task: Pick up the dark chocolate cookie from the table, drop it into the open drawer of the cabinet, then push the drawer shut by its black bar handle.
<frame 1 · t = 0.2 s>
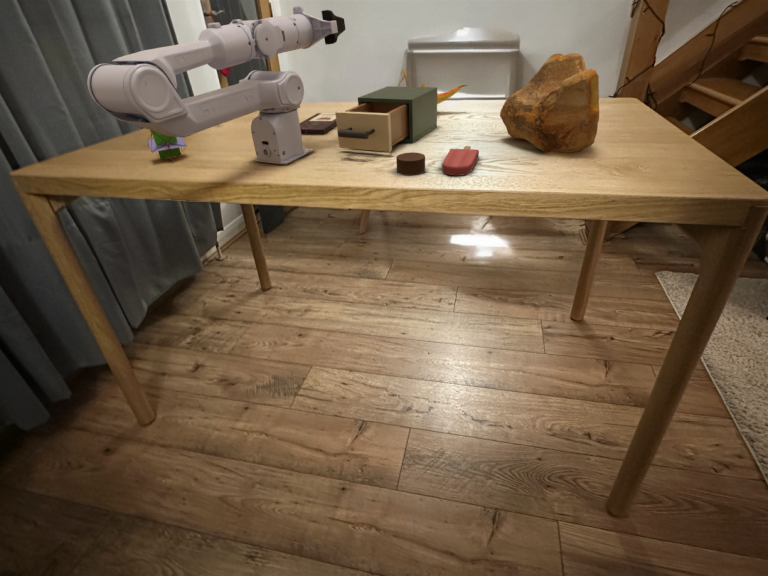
hand: (328, 26, 89), 22 cm above the table, tool horizontal, fingers open, 7 cm apart
rough brown rock: (540, 142, 87), on the table
magic lamp: (432, 114, 114), on the table
cabinet: (399, 132, 98), on the table
geometric puzzle: (172, 159, 90), on the table
drawer: (373, 126, 87), point 4 cm above the table, slide at 9.0 cm
cookie: (410, 170, 76), on the table
chocolate bar: (320, 125, 109), on the table
popsicle: (461, 163, 78), on the table
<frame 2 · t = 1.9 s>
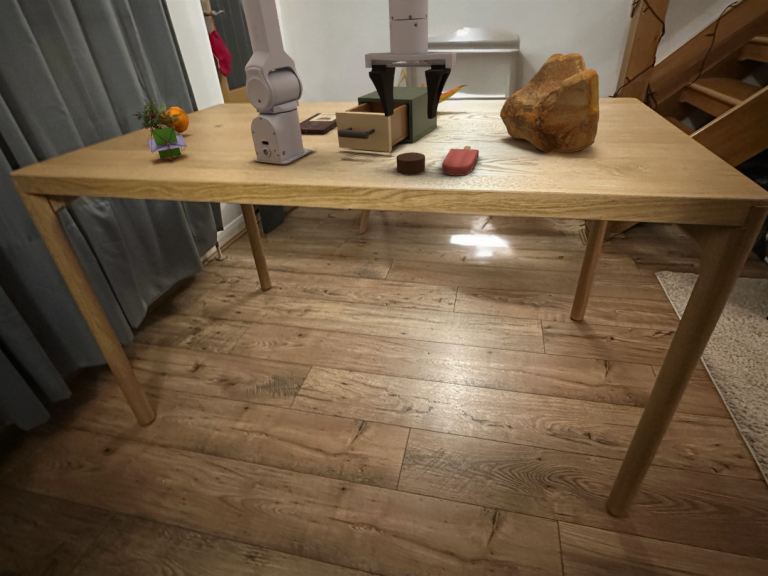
hand: (410, 116, 71), 9 cm above the table, tool pointing down, fingers open, 7 cm apart
nothing on the table moved.
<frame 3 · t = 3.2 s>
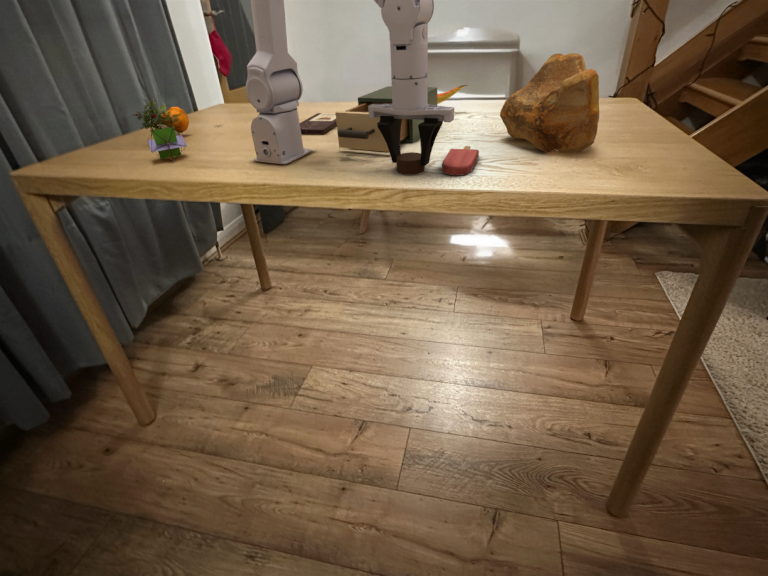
hand: (410, 162, 75), 1 cm above the table, tool pointing down, fingers closed on cookie, 5 cm apart
cookie: (410, 170, 76), on the table, touching gripper
everything else where it was.
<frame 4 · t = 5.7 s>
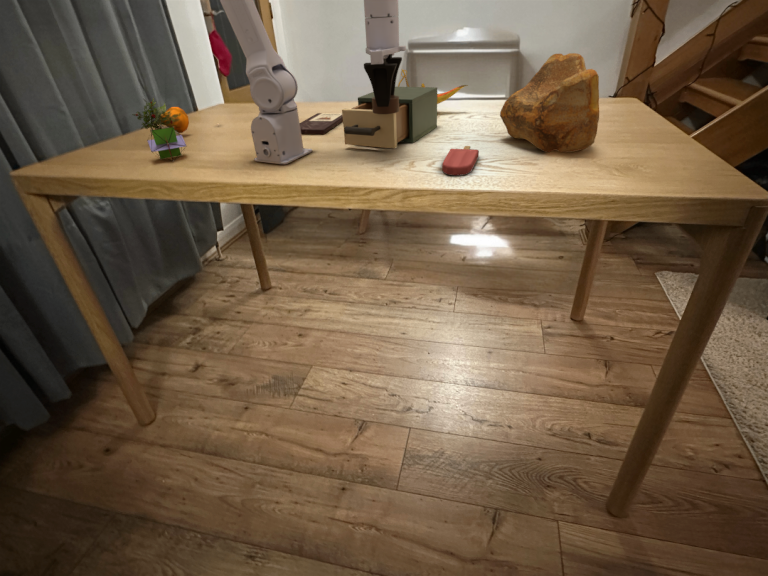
hand: (385, 103, 80), 9 cm above the table, tool pointing down, fingers closed on cookie, 5 cm apart
drawer: (378, 123, 88), point 4 cm above the table, slide at 6.5 cm
cookie: (386, 111, 81), point 8 cm above the table, touching gripper
everything else where it was.
when the fingers open (9 cm above the table, at t = 7.1 s): cookie drops 3 cm and tips over, resting on drawer.
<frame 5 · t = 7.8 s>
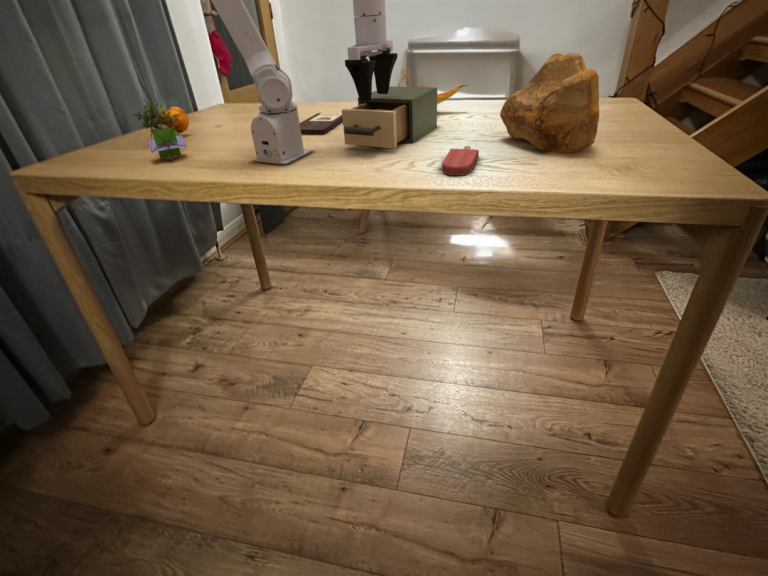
hand: (374, 97, 85), 10 cm above the table, tool pointing down, fingers open, 7 cm apart
drawer: (378, 123, 88), point 4 cm above the table, slide at 6.6 cm, touching cookie
cookie: (376, 123, 88), point 5 cm above the table, tilted 90°, touching drawer
everything else where it was.
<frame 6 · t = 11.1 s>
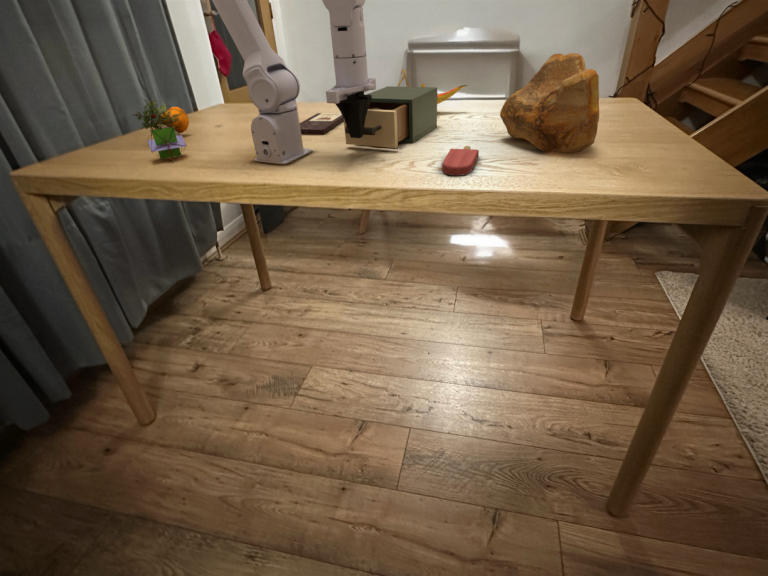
hand: (356, 137, 82), 4 cm above the table, tool pointing down, fingers closed
drawer: (379, 123, 89), point 4 cm above the table, slide at 6.2 cm, touching cookie, gripper
cookie: (371, 123, 88), point 4 cm above the table, tilted 90°, touching drawer
everything else where it was.
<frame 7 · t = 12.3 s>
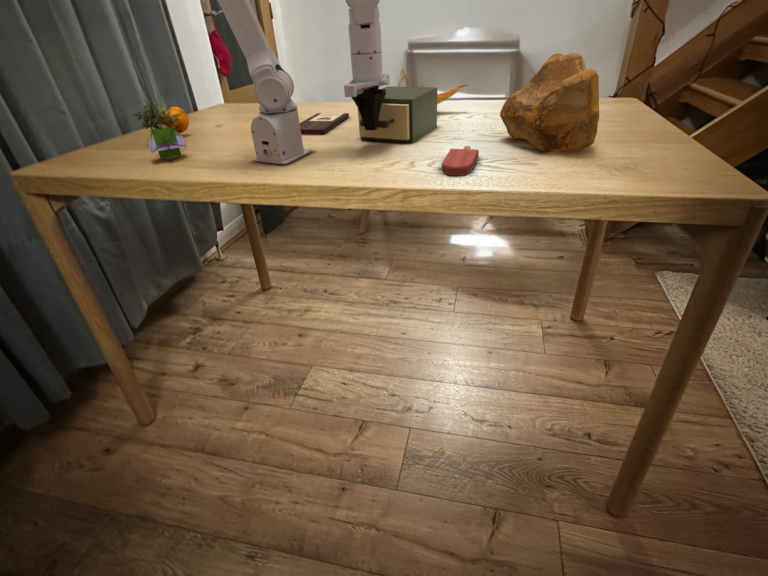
hand: (371, 129, 86), 4 cm above the table, tool pointing down, fingers closed, pressing on drawer
drawer: (391, 117, 93), point 4 cm above the table, slide at 0.2 cm, touching cookie, gripper
cookie: (383, 116, 93), point 4 cm above the table, tilted 90°, touching drawer
everything else where it was.
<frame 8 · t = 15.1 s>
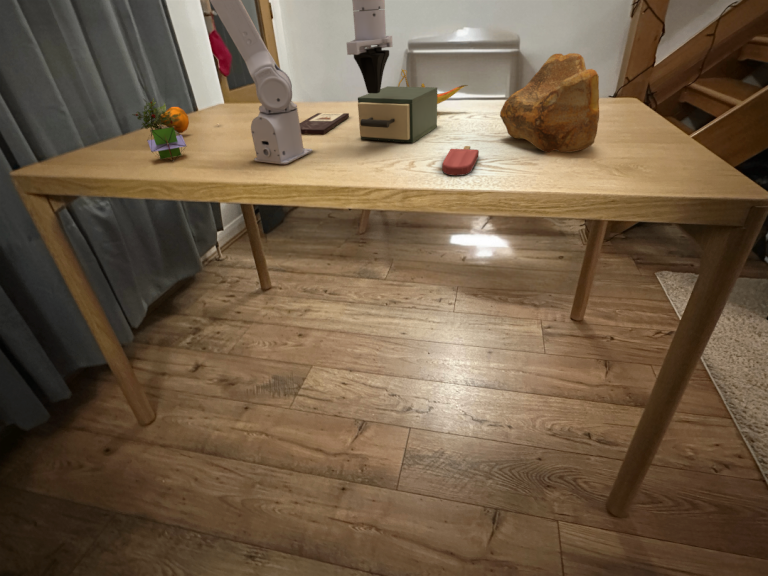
hand: (373, 92, 84), 10 cm above the table, tool pointing down, fingers closed
drawer: (392, 116, 93), point 4 cm above the table, slide at 0.0 cm, touching cookie
everything else where it was.
at the end: cookie inside the target area in the cabinet (5.0 cm from its centre), point 4.5 cm above the cabinet's base; drawer slide at 0.0 cm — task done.
